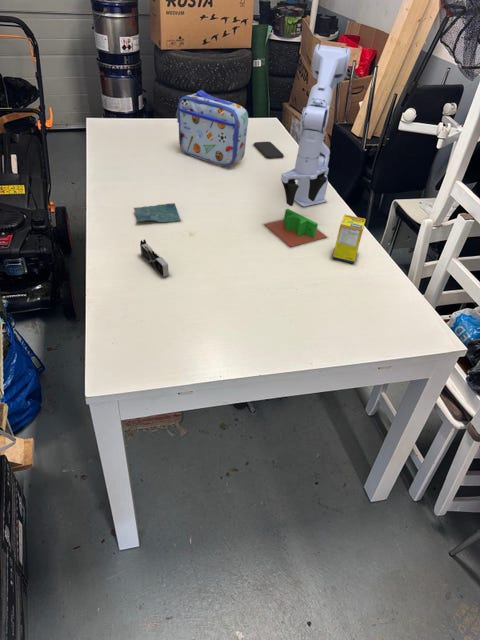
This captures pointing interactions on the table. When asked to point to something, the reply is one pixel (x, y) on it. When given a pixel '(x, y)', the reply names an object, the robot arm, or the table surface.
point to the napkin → (291, 234)
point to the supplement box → (348, 238)
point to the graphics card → (154, 259)
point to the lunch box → (212, 128)
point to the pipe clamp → (299, 224)
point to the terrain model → (158, 213)
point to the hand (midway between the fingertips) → (300, 202)
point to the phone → (268, 149)
